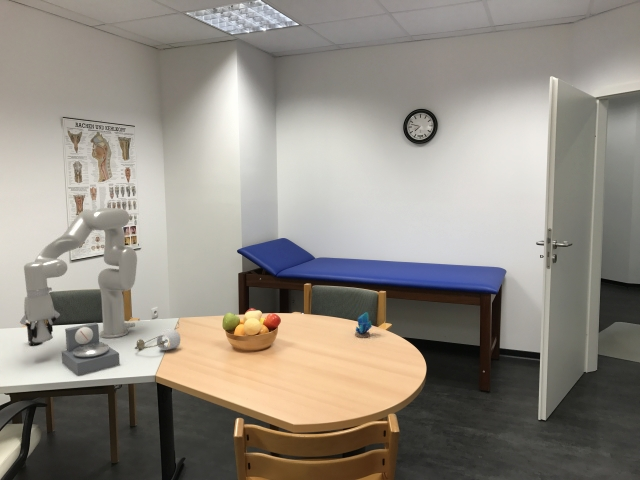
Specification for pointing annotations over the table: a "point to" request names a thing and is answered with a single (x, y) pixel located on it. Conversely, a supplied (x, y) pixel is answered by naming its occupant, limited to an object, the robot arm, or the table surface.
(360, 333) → the gemstone
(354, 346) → the table surface
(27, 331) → the supplement container
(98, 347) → the pan
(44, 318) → the robot arm
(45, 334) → the flask
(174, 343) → the light fixture
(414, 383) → the table surface
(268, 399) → the table surface
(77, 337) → the scale
